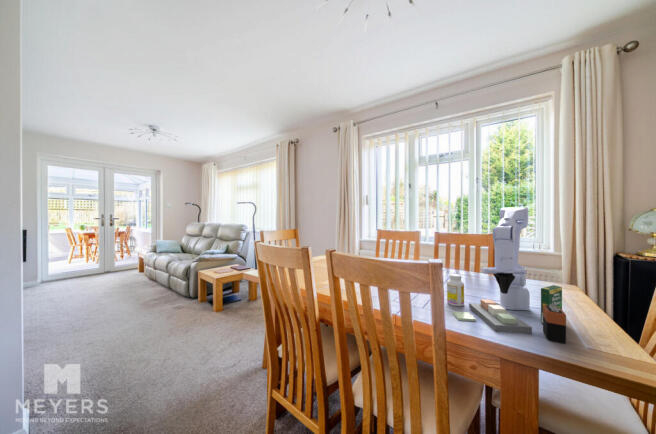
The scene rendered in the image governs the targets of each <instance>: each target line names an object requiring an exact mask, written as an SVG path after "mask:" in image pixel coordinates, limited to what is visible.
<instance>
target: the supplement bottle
mask: <svg viewBox="0 0 656 434" xmlns="http://www.w3.org/2000/svg"><path fill="white" fill-rule="evenodd" d="M448 275H449V279H448V280H447V281H446V302H447V304H449V305H450V306H453V307H462V306H464V305H465V283H464V281H463V280H462V274H458V273H449V274H448Z"/></svg>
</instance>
